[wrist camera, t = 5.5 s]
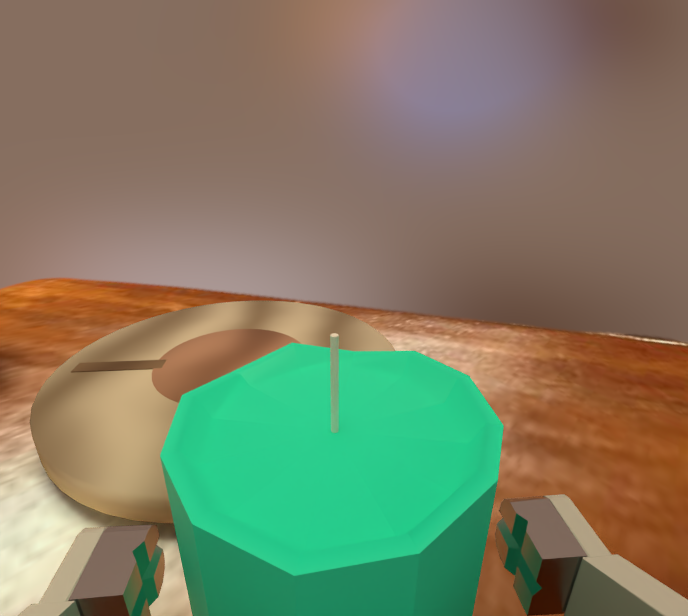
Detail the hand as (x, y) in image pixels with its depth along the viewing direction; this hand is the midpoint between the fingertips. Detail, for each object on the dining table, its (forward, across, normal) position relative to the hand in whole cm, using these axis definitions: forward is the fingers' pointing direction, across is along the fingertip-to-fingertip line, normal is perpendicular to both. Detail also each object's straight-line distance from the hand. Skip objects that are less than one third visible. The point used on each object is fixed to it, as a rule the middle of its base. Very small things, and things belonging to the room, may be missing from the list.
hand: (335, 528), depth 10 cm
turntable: (+15, +5, +5) cm, 17 cm away
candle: (-1, 0, +7) cm, 7 cm away
